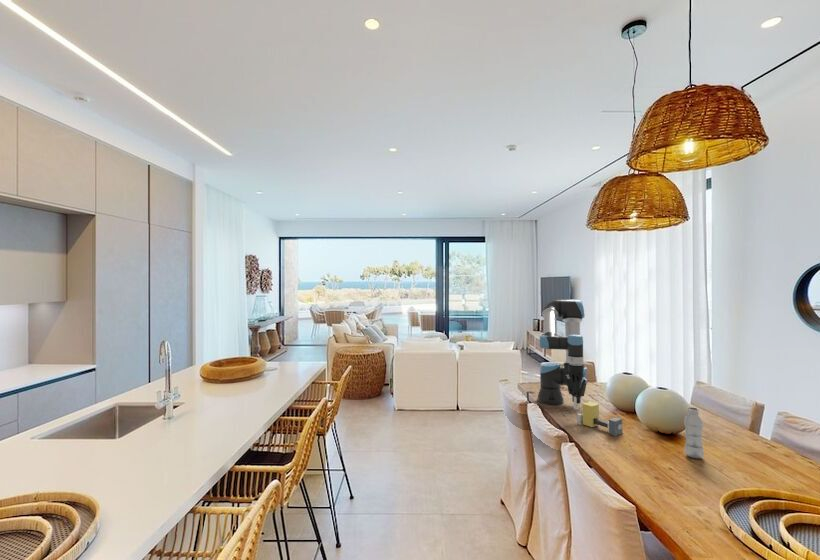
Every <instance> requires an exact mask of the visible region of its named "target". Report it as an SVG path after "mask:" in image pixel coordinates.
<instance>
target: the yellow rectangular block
mask: <svg viewBox="0 0 820 560" xmlns="http://www.w3.org/2000/svg"><path fill="white" fill-rule="evenodd" d="M599 405H600V404H599V403H595V402H591V401H589V402H585V403H582V414H583V424H582V425H584V426H587V427H590V428H594V427H597V426H598V425H597V424H594V419H599V420H600V409H599V407H600V406H599Z"/></svg>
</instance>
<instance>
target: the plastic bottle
mask: <svg viewBox="0 0 820 560" xmlns="http://www.w3.org/2000/svg"><path fill="white" fill-rule="evenodd" d="M687 413H688V414H686V415H685V417H684V419H683V422H684V427H685V444H684V453H685V454H686V456H688V457H690V458H691V459H692V458H693V459H702V458H703V457H704V453H705V451H704V447H703V441H702V439H703V438H702V435H703V434H702V433H703V428H704V423H703V422H704V421H703V420H702V418H701V417H700V416H699V414H700V413H699V408H696V407H687Z"/></svg>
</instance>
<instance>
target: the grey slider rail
mask: <svg viewBox="0 0 820 560" xmlns="http://www.w3.org/2000/svg"><path fill="white" fill-rule="evenodd" d="M576 424H577V425H581V426H582V425H584V424H583V413H576ZM594 424H597V426H601V427H603V428H607V432H608V435H610V436H614V437H617V436H619V435H622V434H623V419H622V418H620V417H614V418H610V419H608V421H605V420H602V419H600V418H599V419H594Z"/></svg>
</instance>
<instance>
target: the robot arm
mask: <svg viewBox="0 0 820 560" xmlns="http://www.w3.org/2000/svg"><path fill="white" fill-rule="evenodd" d="M541 313H542V314H541V316H542V318H543V332H542V333H543V335H539V347H540V349H545V350H565V361H564V362H563V365H561V364H560V363H559V362H547V363H546V362H545V363H543V364H541V365H540V367H539V368H540V369H539V370H540V371H539V374H540V379H539V381H540V382H539V383H540V384H539V385H540V387H539V392H538V395H537V401H538V402H540V403H541V402H542V403H541V404H544V403H545V405H553V406H554V405H555V406H557V405H562V404H564V400H565V399H564V397H563V393H562V391H561V386H567V391H568V394H569V395H571V396H572V400H571V401H572V402H573V409H574V410H579V409H580V404H581V401H582V400H581V398H582V397H584V396H585V393H586V389H587V388H586V387H587V383H588V382H589V379H588V378H587V374H588V368H587V367H586V366H585V363H584V337H583V336H582V335H581V325H580V324H581V322H583V319H584V318H585V309H584V305H583V301H582V300H580V299H554V300H551V301H549V302H548V303H547V304H545V306H544V307H543V308H542V312H541ZM558 318H560V319H561V318H562V319H561V320H562V322H563V323H564V326H565V327H564V331H565V332H564V333H565V335H564V336H563V335H558V326H557V325H558V324H557V319H558Z"/></svg>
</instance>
